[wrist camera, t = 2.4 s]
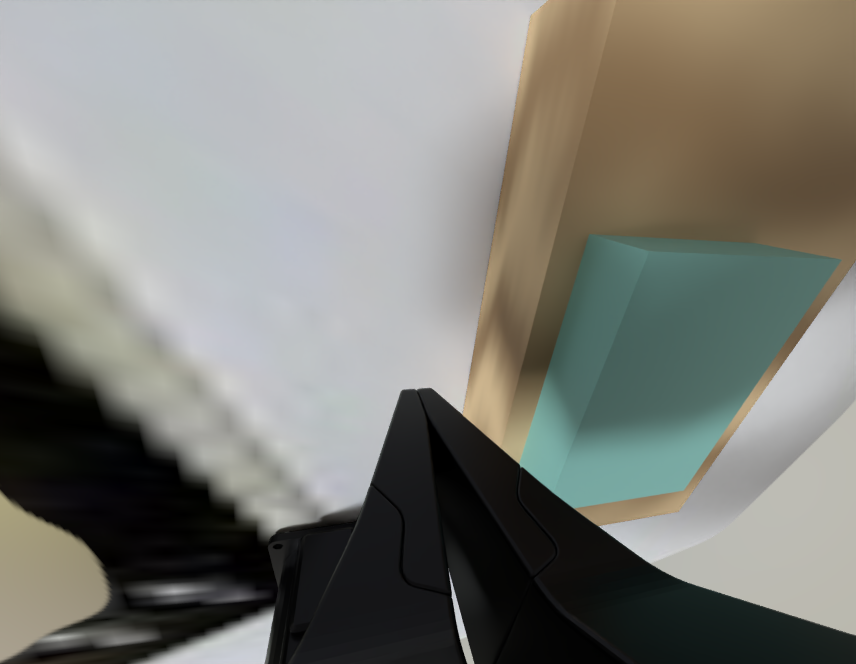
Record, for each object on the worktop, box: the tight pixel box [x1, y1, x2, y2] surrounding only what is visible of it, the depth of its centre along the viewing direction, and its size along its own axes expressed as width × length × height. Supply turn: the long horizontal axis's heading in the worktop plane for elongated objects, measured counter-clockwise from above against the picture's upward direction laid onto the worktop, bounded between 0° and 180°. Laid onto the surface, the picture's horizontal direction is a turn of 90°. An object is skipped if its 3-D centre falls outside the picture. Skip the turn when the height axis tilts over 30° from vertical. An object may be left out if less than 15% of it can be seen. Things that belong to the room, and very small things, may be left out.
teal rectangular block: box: [519, 234, 842, 508], centre depth 10 cm, size 9×6×2 cm, turn 175°
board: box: [463, 0, 856, 526], centre depth 13 cm, size 20×12×4 cm, turn 175°
